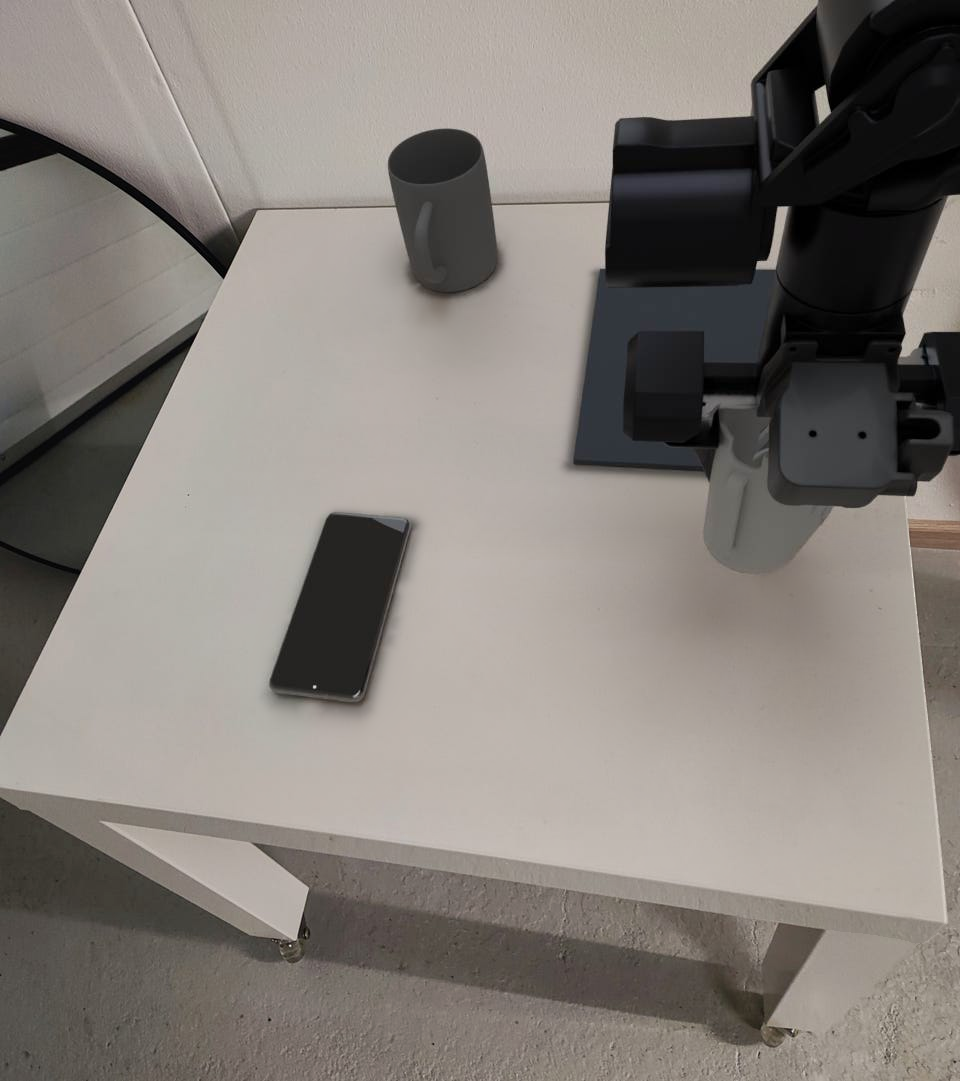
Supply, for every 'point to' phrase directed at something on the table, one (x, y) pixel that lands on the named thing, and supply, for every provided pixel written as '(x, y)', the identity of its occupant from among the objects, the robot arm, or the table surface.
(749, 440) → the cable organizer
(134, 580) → the table surface
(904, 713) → the table surface
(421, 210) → the mug
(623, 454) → the mat
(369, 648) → the smartphone
